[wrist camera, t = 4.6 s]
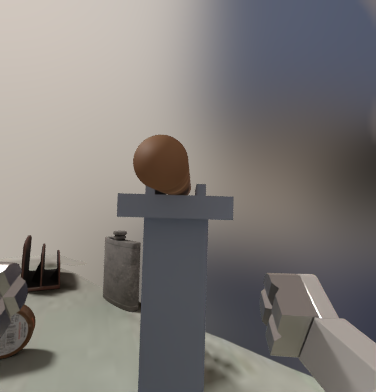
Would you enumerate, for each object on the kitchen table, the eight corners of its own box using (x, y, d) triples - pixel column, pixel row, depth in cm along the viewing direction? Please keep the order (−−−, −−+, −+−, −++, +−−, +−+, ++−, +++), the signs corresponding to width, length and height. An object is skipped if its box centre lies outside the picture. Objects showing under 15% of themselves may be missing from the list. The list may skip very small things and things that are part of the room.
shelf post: (240, 525, 21) (247, 184, 22) (89, 517, 21) (103, 180, 22) (222, 408, 33) (228, 191, 34) (126, 403, 33) (134, 188, 34)
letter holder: (19, 293, 71) (21, 241, 72) (26, 274, 89) (28, 232, 90) (60, 289, 76) (62, 239, 76) (59, 272, 94) (60, 232, 94)
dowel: (192, 184, 14) (183, 130, 14) (138, 193, 14) (129, 140, 14) (192, 196, 36) (188, 174, 36) (171, 200, 36) (167, 178, 36)
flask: (127, 313, 60) (129, 234, 61) (98, 296, 70) (100, 228, 71) (140, 309, 63) (143, 233, 63) (110, 293, 73) (113, 228, 73)
